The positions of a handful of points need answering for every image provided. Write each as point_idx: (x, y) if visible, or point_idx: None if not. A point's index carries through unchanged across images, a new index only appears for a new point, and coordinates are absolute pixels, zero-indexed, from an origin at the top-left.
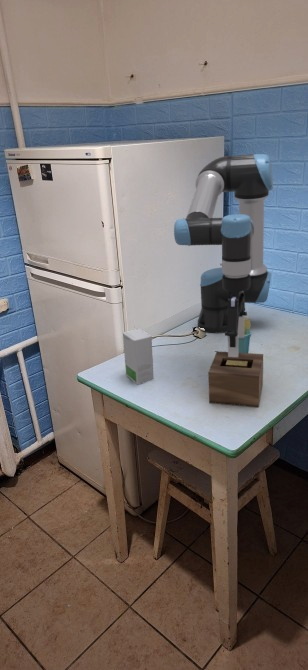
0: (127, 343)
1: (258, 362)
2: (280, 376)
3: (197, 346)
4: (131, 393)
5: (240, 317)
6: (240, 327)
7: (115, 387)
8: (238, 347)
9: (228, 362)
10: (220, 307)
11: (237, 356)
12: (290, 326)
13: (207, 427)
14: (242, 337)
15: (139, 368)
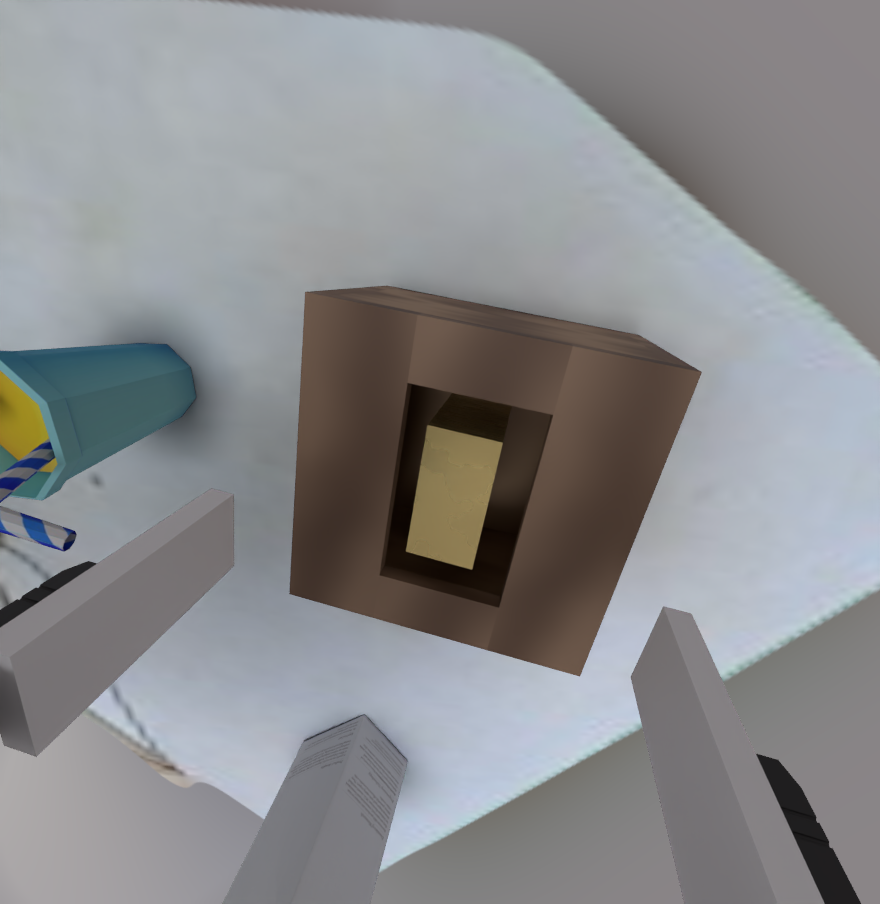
0: None
1: (456, 348)
2: (300, 168)
3: (72, 548)
4: (470, 781)
5: (26, 694)
6: (155, 588)
7: (428, 815)
8: (124, 418)
9: (440, 548)
10: None
11: (692, 625)
12: None
13: (777, 578)
14: (231, 507)
15: (382, 820)
